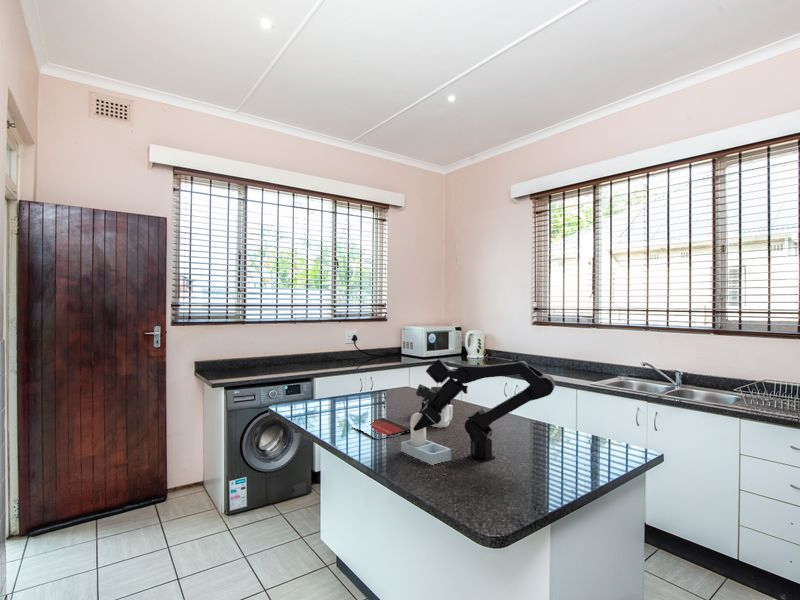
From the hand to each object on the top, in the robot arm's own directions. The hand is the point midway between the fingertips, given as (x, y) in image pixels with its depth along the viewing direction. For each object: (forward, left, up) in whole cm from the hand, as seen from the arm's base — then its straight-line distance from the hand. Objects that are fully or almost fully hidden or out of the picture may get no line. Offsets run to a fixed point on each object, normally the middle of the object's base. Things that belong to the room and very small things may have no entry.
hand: (414, 426), depth 145 cm
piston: (+32, -41, -9) cm, 52 cm away
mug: (+18, -30, -9) cm, 36 cm away
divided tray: (-5, -1, -9) cm, 10 cm away
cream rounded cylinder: (-1, -1, -8) cm, 8 cm away
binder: (+29, -6, -10) cm, 31 cm away
